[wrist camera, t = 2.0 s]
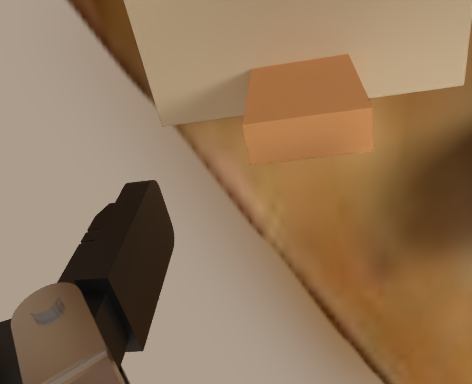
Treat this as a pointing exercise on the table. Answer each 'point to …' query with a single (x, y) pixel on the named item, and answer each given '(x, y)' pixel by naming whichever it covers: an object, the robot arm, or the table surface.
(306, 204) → the table surface
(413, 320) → the table surface
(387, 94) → the carton lid
